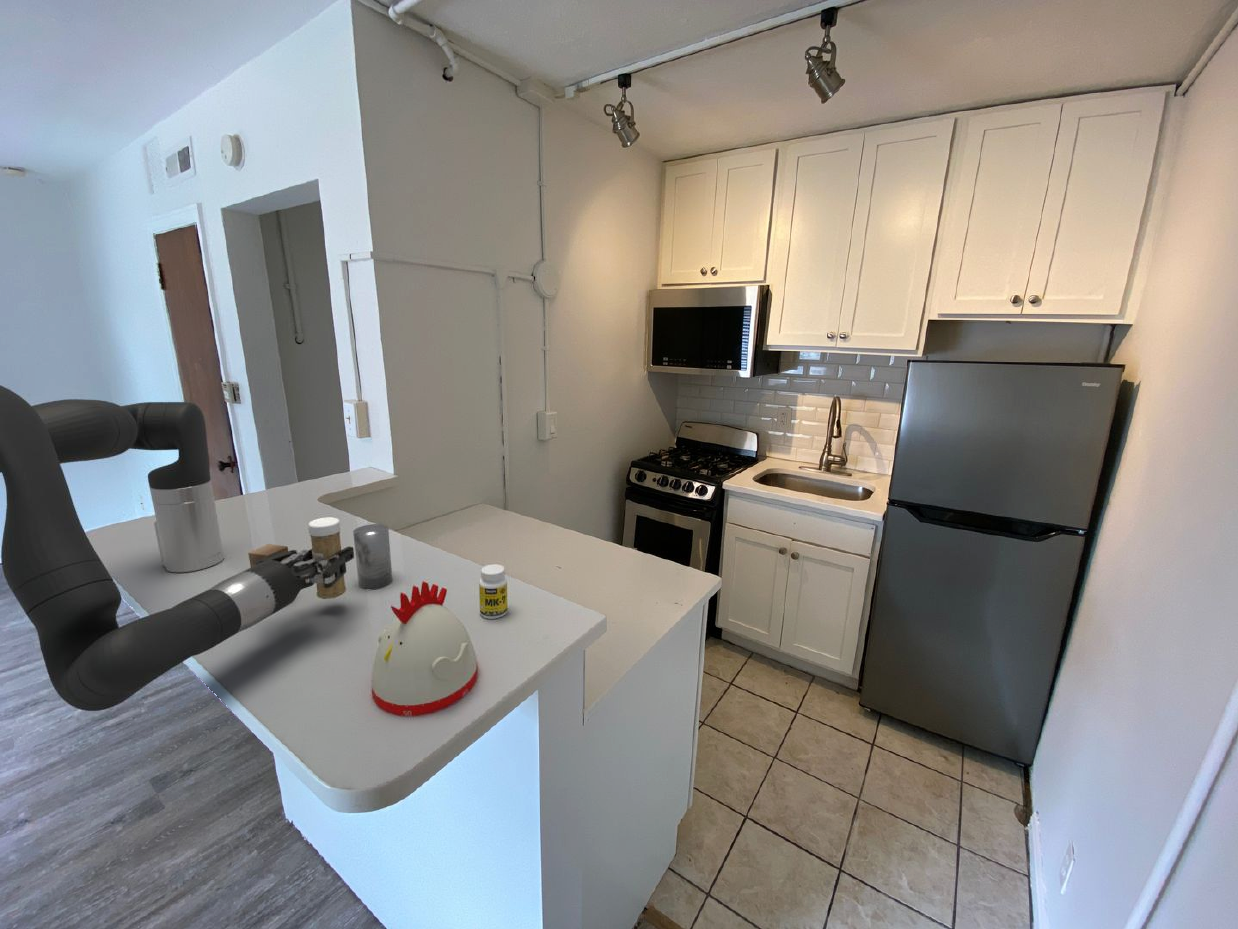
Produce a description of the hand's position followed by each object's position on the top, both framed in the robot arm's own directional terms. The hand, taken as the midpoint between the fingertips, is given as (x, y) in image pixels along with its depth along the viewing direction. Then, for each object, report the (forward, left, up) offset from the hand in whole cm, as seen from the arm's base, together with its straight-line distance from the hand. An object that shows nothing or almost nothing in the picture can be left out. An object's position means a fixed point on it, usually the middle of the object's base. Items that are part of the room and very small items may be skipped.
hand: (339, 550), depth 87 cm
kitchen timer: (+26, -15, -11) cm, 32 cm away
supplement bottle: (+27, +4, -10) cm, 29 cm away
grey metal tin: (0, +8, -10) cm, 13 cm away
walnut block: (-12, -3, -10) cm, 16 cm away
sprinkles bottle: (0, -3, -7) cm, 8 cm away
